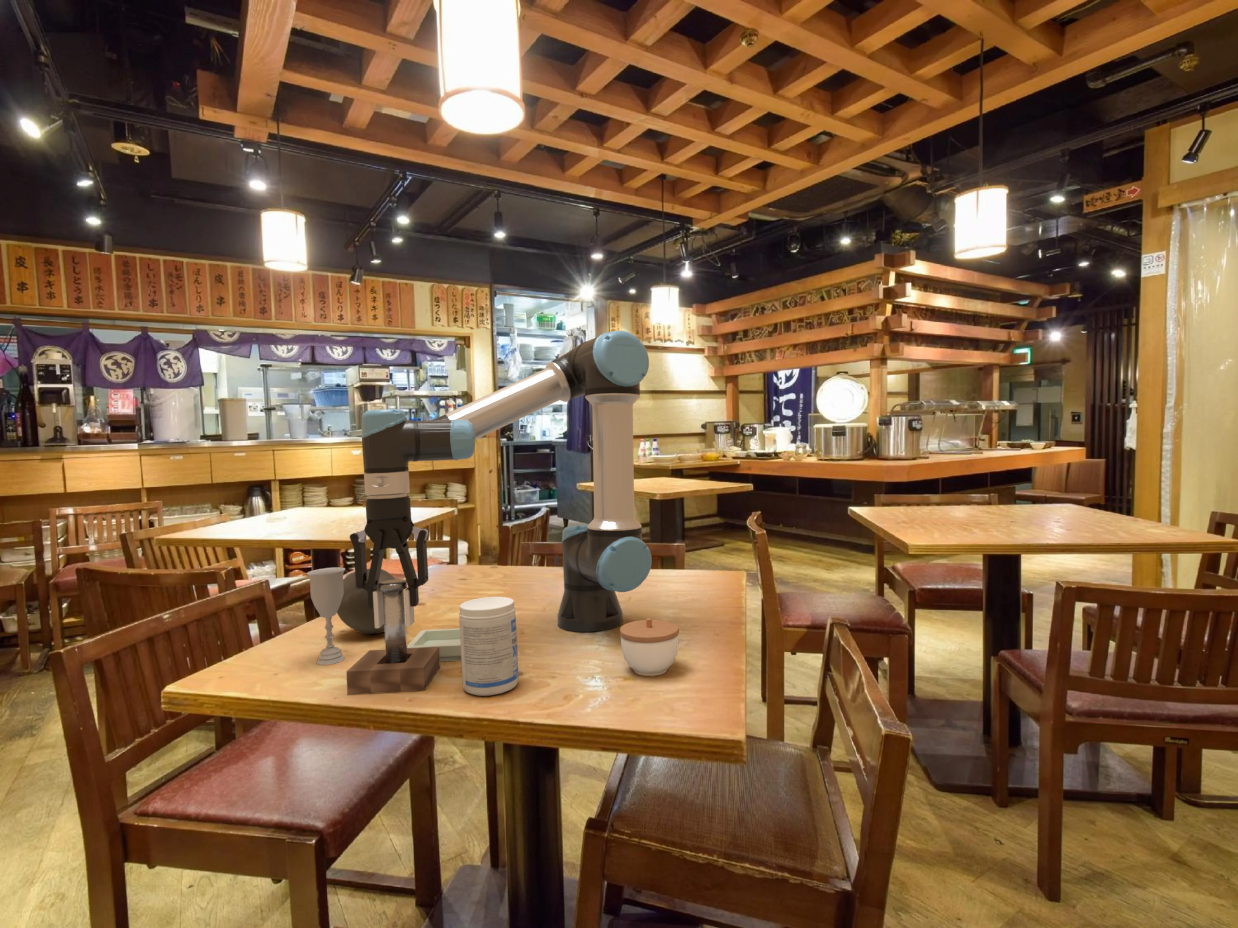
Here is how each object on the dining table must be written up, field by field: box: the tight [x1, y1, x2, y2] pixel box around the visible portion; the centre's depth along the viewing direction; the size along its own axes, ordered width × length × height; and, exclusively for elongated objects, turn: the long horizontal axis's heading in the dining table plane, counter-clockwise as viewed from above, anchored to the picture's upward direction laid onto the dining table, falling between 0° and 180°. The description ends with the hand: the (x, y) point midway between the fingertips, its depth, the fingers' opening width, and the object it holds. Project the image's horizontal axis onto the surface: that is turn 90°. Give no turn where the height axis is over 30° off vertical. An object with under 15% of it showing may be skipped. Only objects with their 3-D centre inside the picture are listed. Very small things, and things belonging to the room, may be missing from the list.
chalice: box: [306, 566, 346, 666], centre depth 123 cm, size 7×7×18 cm
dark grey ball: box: [336, 568, 396, 635], centre depth 140 cm, size 14×14×15 cm
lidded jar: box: [619, 617, 680, 677], centre depth 112 cm, size 11×11×9 cm
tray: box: [407, 627, 462, 663], centre depth 126 cm, size 14×12×3 cm
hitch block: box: [345, 647, 441, 696], centre depth 111 cm, size 13×11×4 cm
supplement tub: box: [458, 596, 519, 697], centre depth 106 cm, size 10×10×15 cm
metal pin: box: [378, 578, 408, 663], centre depth 111 cm, size 5×5×14 cm
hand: (394, 624), depth 111 cm, fingers closed on metal pin, 5 cm apart
